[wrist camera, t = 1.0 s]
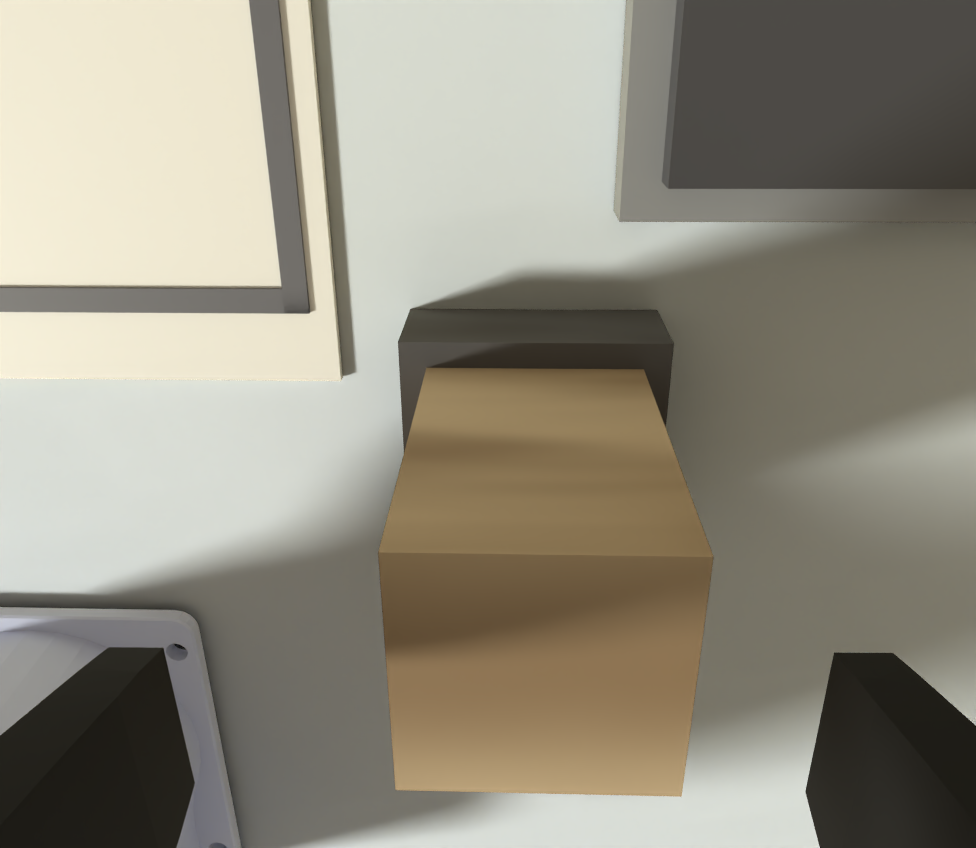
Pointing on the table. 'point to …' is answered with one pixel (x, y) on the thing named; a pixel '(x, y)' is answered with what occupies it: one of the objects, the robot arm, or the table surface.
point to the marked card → (163, 193)
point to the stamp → (540, 557)
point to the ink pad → (797, 111)
